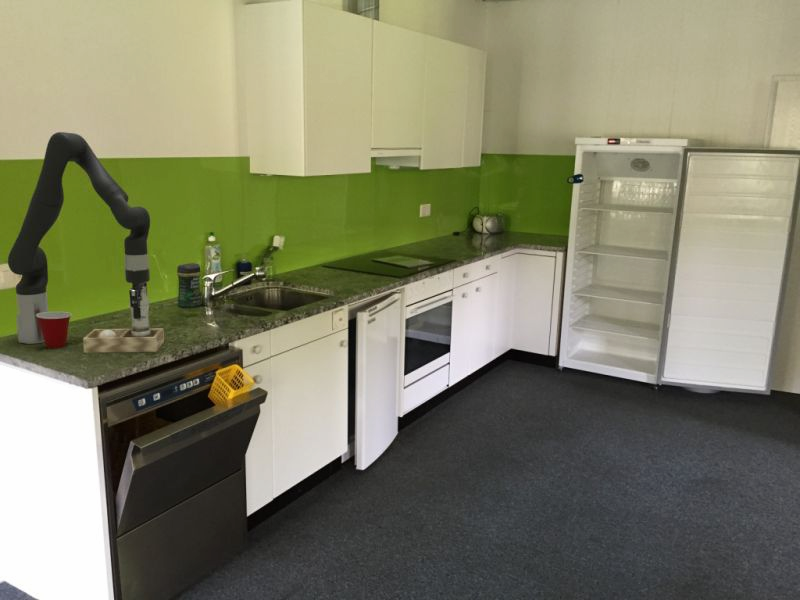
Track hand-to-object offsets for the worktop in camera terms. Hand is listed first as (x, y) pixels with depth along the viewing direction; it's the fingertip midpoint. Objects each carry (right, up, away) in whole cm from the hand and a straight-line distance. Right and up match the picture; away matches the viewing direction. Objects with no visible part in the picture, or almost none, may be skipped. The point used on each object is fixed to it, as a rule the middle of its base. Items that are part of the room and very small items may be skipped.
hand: (139, 315), depth 227 cm
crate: (-6, -11, +2) cm, 13 cm away
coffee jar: (-3, +3, +65) cm, 65 cm away
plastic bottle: (0, -10, +2) cm, 10 cm away
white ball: (-11, -11, +1) cm, 15 cm away
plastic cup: (-29, -11, +2) cm, 31 cm away
